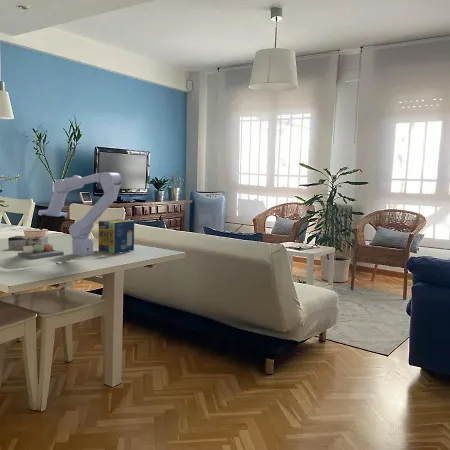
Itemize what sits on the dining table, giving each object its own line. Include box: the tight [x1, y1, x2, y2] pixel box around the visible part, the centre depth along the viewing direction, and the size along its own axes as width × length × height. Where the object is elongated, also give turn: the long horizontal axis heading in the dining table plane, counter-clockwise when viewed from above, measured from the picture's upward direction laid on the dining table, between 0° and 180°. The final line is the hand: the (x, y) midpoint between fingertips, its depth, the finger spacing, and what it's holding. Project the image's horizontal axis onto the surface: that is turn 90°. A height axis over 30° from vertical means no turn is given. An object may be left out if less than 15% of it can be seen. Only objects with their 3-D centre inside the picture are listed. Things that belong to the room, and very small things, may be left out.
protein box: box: [98, 218, 135, 255], centre depth 228 cm, size 10×15×16 cm
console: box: [17, 249, 65, 260], centre depth 205 cm, size 12×15×2 cm
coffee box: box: [7, 235, 49, 251], centre depth 225 cm, size 9×6×16 cm
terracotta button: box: [43, 243, 54, 251], centre depth 210 cm, size 4×4×3 cm
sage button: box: [33, 245, 44, 253], centre depth 206 cm, size 4×4×3 cm
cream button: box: [22, 246, 34, 254], centre depth 202 cm, size 4×4×3 cm
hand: (47, 229), depth 216 cm, fingers open, 7 cm apart
